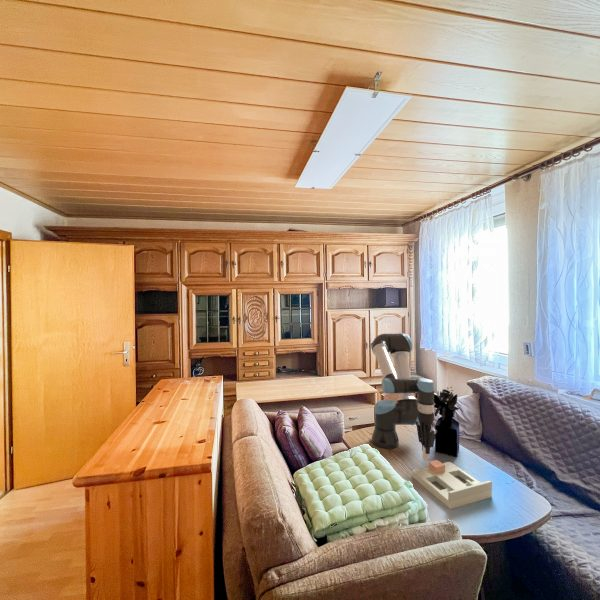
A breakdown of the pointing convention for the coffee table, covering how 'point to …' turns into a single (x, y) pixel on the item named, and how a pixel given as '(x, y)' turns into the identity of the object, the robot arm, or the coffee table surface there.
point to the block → (436, 466)
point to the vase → (446, 424)
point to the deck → (453, 485)
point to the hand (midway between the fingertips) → (426, 458)
